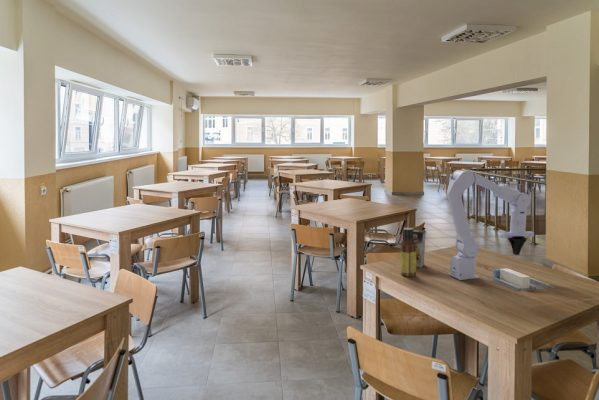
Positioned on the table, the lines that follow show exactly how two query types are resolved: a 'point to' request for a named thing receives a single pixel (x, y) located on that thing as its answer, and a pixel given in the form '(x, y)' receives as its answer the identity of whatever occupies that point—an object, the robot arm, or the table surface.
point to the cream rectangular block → (515, 278)
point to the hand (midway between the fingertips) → (516, 254)
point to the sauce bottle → (408, 254)
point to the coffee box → (419, 246)
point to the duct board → (533, 286)
